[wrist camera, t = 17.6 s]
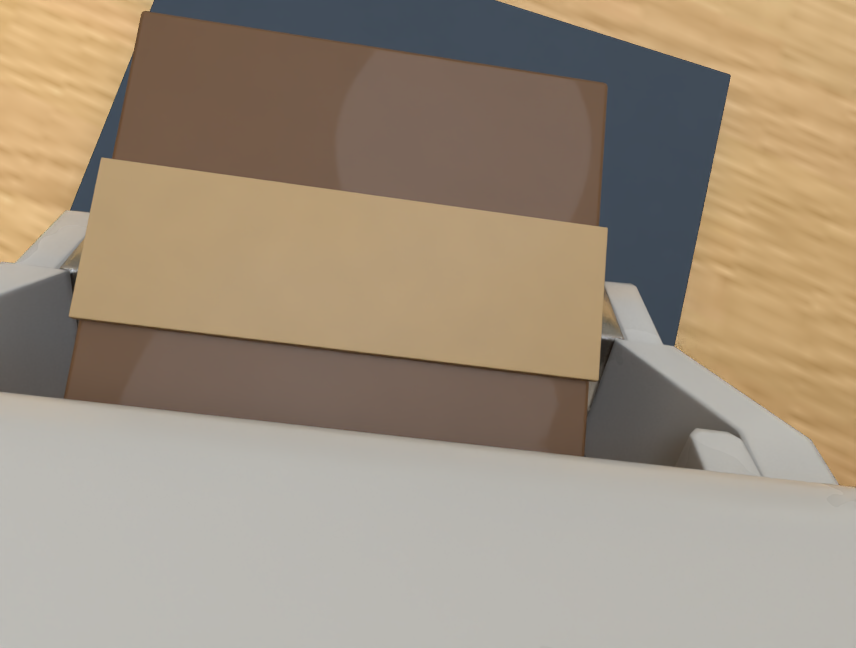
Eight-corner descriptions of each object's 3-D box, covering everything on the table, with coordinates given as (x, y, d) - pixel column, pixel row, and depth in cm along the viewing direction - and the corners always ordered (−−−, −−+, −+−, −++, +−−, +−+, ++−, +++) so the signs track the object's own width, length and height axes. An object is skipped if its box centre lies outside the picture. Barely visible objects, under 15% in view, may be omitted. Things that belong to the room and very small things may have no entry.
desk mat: (196, -82, 18) (191, -98, 18) (722, 83, 19) (732, 74, 19) (-144, 770, 14) (-162, 781, 14) (540, 943, 15) (547, 960, 15)
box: (482, 269, 16) (617, 76, 8) (460, 508, 15) (588, 559, 7) (242, 238, 15) (131, 1, 8) (203, 481, 14) (29, 503, 7)
